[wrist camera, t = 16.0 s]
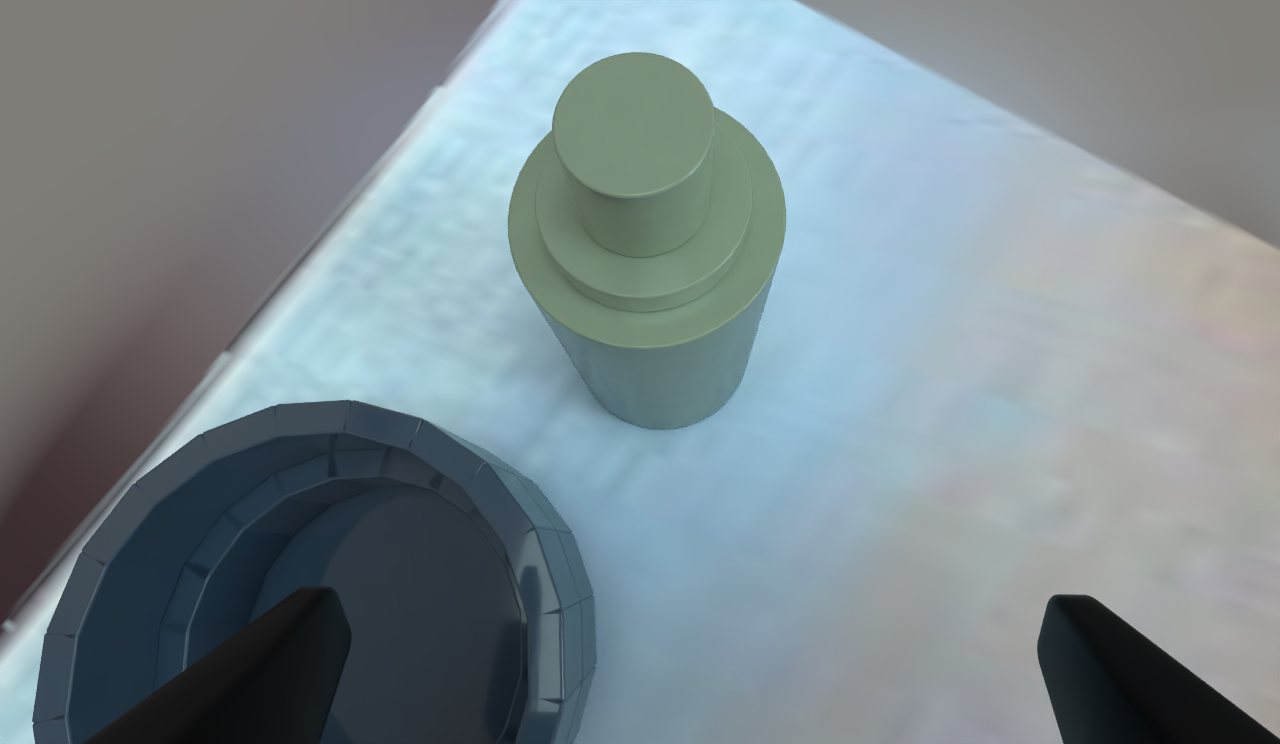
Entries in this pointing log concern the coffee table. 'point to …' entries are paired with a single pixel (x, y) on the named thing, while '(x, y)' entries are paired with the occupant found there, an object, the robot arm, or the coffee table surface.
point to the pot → (335, 580)
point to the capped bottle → (649, 238)
